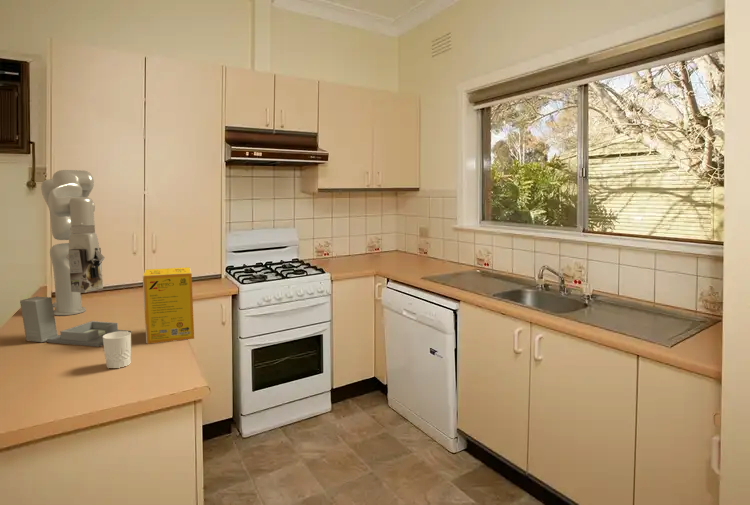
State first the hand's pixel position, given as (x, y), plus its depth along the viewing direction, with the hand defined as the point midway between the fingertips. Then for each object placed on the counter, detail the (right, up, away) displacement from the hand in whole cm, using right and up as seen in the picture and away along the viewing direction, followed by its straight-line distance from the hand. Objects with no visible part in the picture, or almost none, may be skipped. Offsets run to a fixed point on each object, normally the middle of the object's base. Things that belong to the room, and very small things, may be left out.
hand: (86, 277), depth 177 cm
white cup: (+28, -27, -29) cm, 49 cm away
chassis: (+2, -23, -2) cm, 23 cm away
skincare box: (-15, -23, -4) cm, 28 cm away
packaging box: (+31, -23, +3) cm, 38 cm away
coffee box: (0, -5, +1) cm, 5 cm away
